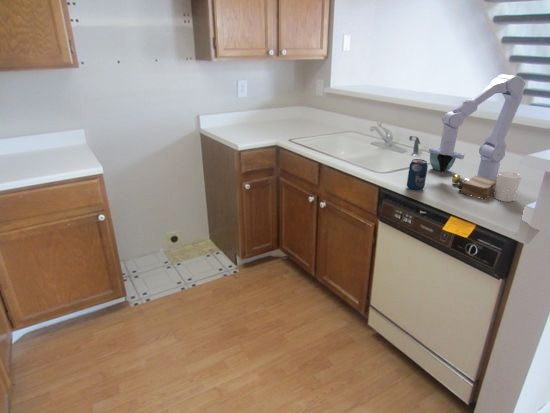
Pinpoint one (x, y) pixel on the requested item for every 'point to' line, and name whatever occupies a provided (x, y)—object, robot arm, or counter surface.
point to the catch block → (479, 187)
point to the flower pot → (435, 162)
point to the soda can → (417, 174)
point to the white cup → (506, 185)
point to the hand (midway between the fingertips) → (442, 171)
